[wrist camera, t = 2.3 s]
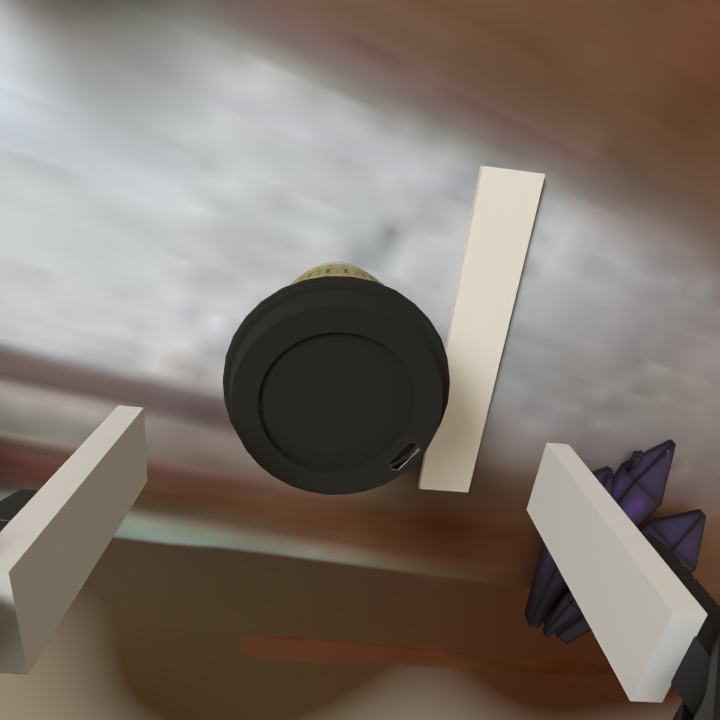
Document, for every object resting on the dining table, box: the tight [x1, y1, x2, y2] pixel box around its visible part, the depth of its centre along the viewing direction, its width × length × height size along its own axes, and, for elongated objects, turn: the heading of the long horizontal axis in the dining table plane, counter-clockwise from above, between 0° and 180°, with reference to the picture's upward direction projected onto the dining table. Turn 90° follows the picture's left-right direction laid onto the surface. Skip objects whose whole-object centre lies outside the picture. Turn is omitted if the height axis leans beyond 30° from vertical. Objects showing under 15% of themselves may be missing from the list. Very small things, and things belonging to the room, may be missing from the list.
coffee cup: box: [223, 262, 450, 495], centre depth 26 cm, size 10×10×15 cm
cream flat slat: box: [418, 166, 545, 492], centre depth 35 cm, size 4×24×1 cm, turn 173°
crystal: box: [525, 440, 706, 644], centre depth 39 cm, size 7×12×20 cm
